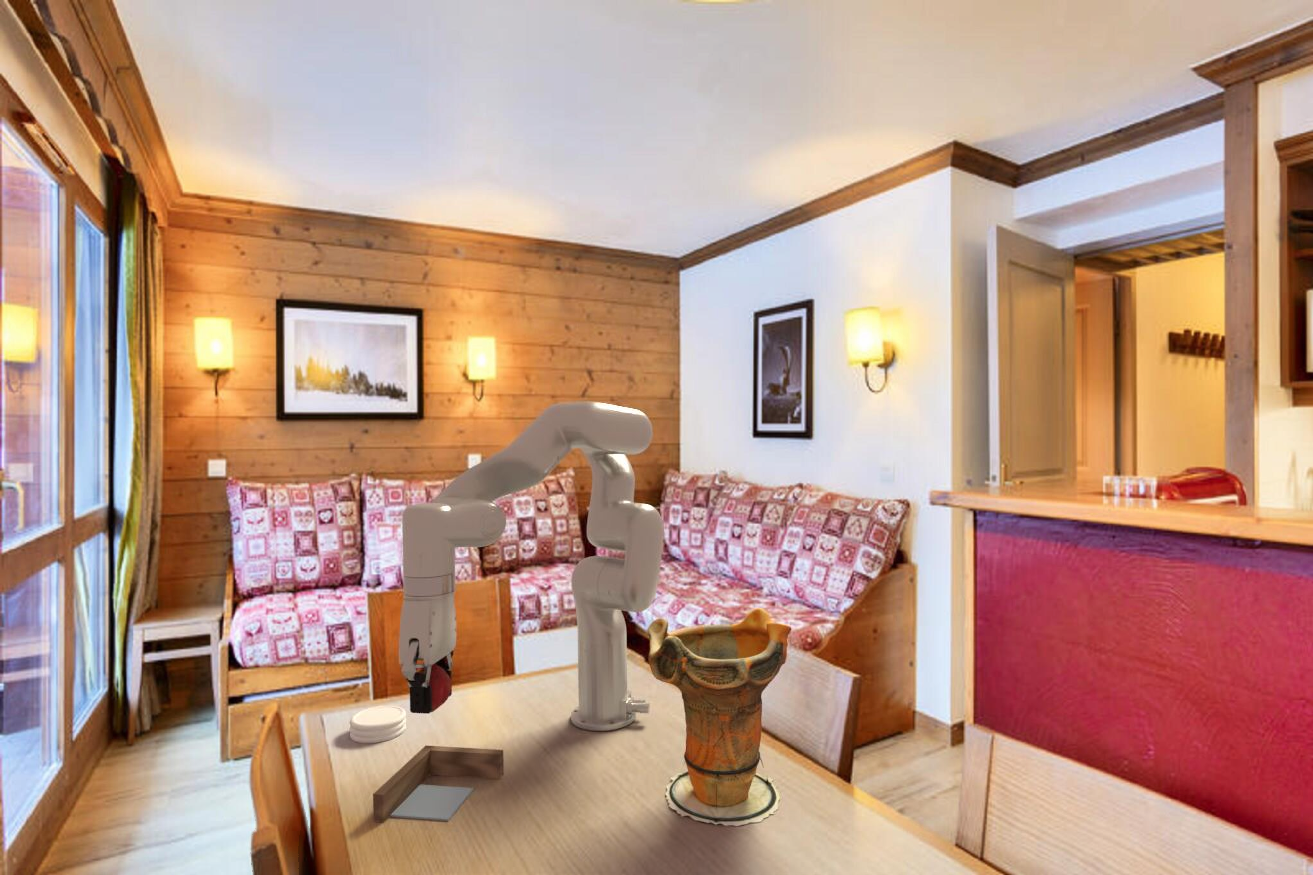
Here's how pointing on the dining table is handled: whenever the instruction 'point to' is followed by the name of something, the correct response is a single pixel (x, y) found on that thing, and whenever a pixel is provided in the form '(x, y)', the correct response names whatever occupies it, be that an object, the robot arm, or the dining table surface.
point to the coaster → (377, 724)
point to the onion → (438, 685)
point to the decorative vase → (721, 713)
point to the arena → (435, 773)
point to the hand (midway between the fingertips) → (431, 702)
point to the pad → (433, 802)
